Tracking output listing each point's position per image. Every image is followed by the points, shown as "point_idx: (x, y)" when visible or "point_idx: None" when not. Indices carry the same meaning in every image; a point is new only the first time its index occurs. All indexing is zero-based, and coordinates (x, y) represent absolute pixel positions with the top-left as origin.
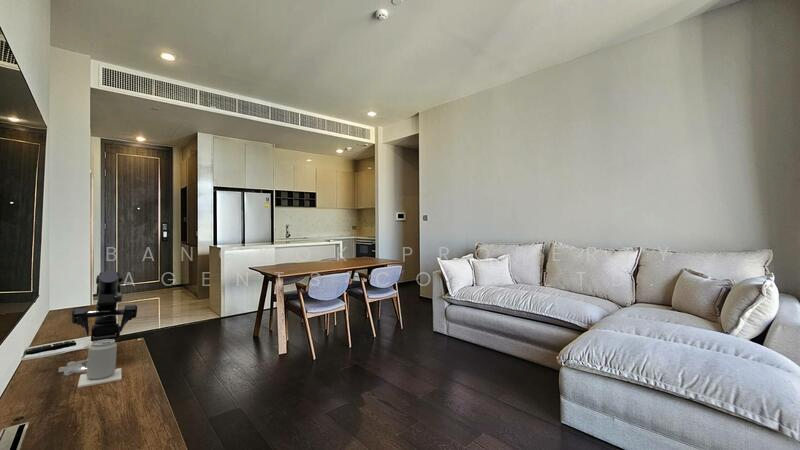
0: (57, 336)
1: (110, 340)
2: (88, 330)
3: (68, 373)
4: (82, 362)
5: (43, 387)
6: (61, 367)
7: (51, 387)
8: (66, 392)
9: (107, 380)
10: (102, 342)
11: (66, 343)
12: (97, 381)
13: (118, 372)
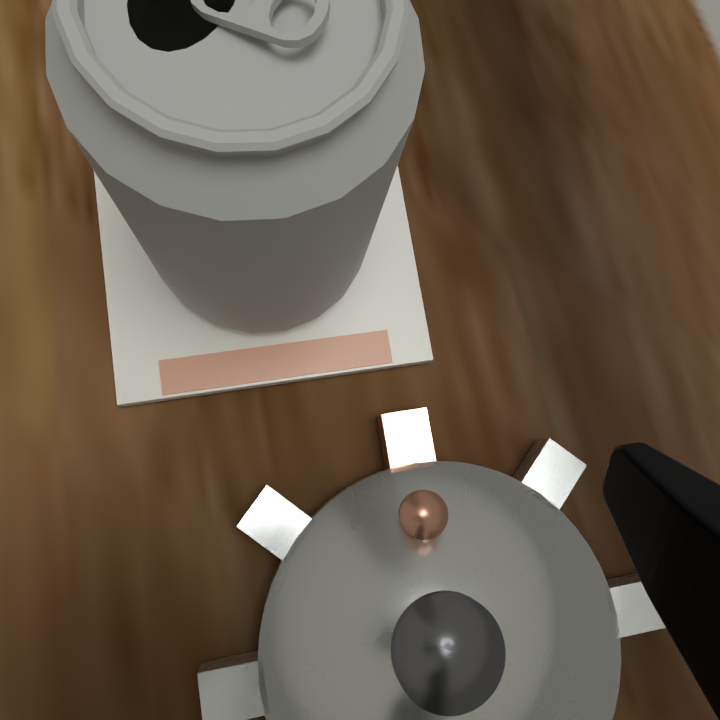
0: None
1: (141, 104)
2: (679, 495)
3: (539, 442)
4: (504, 662)
5: (610, 219)
6: (650, 617)
7: (557, 193)
8: (428, 39)
9: None
10: (252, 11)
11: None
12: None
13: (128, 273)
